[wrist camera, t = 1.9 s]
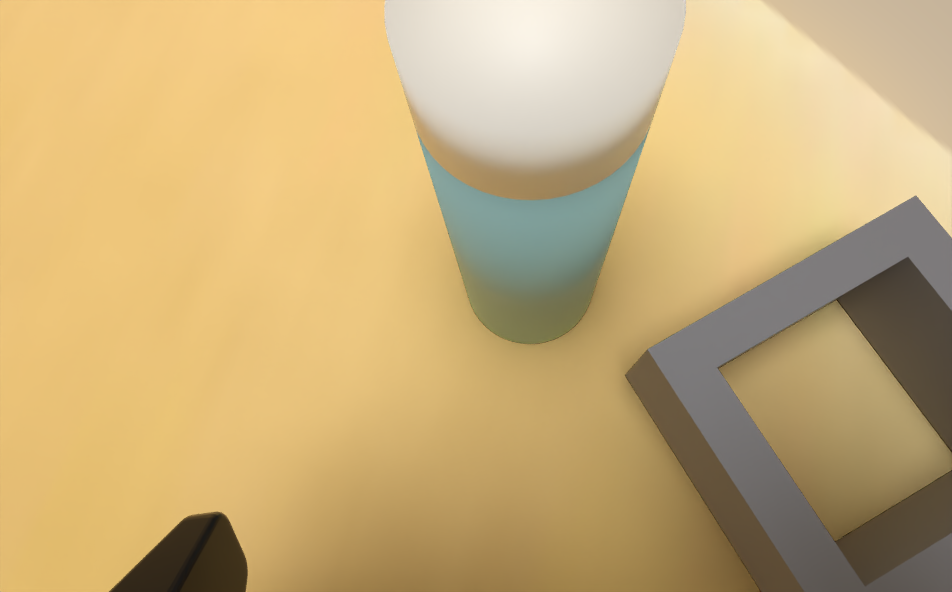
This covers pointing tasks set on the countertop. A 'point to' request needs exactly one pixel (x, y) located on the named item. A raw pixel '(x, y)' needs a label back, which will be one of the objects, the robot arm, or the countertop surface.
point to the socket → (748, 453)
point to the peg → (532, 138)
